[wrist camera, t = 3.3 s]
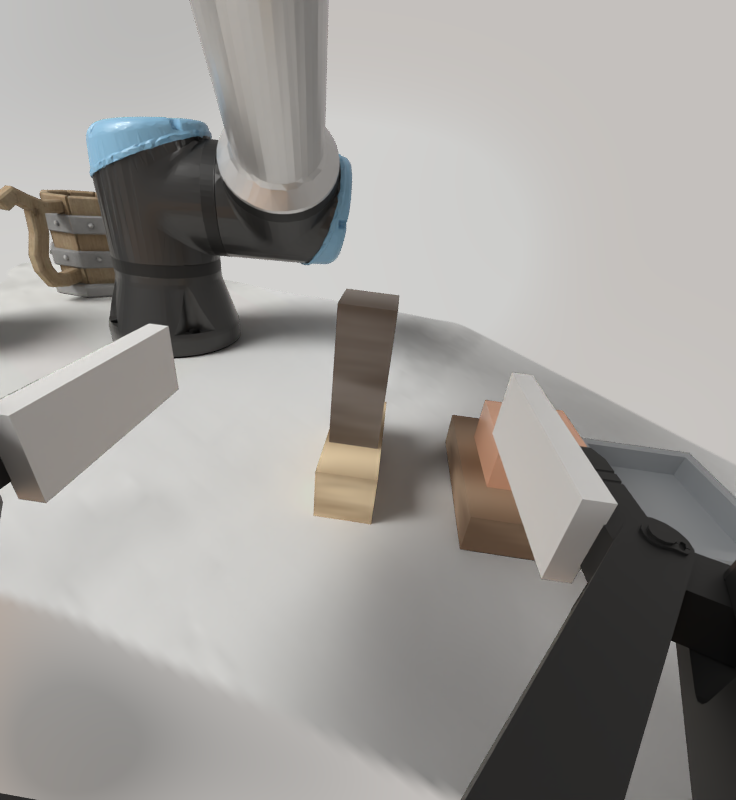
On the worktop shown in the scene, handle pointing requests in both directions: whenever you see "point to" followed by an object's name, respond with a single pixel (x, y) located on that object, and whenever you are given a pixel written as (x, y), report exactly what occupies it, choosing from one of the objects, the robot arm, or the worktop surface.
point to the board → (481, 499)
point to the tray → (677, 495)
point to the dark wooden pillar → (356, 406)
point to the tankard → (66, 239)
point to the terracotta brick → (488, 448)
